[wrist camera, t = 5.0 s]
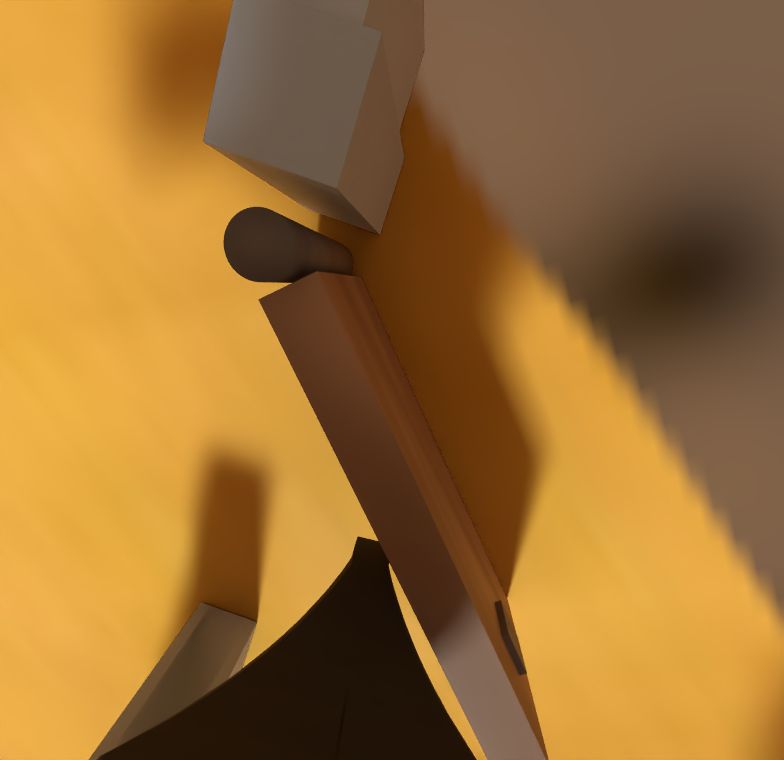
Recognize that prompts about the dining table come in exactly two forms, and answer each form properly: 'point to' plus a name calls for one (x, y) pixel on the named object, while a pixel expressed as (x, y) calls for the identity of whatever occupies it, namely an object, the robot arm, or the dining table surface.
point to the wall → (307, 187)
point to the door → (393, 469)
